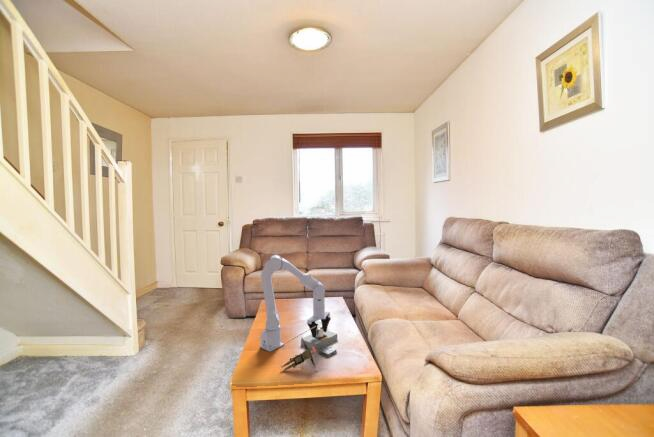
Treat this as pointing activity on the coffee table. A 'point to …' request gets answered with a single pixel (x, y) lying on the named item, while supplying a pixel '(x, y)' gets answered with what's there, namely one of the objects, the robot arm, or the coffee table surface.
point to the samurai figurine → (300, 356)
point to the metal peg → (319, 333)
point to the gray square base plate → (327, 351)
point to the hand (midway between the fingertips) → (319, 334)
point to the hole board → (318, 344)
